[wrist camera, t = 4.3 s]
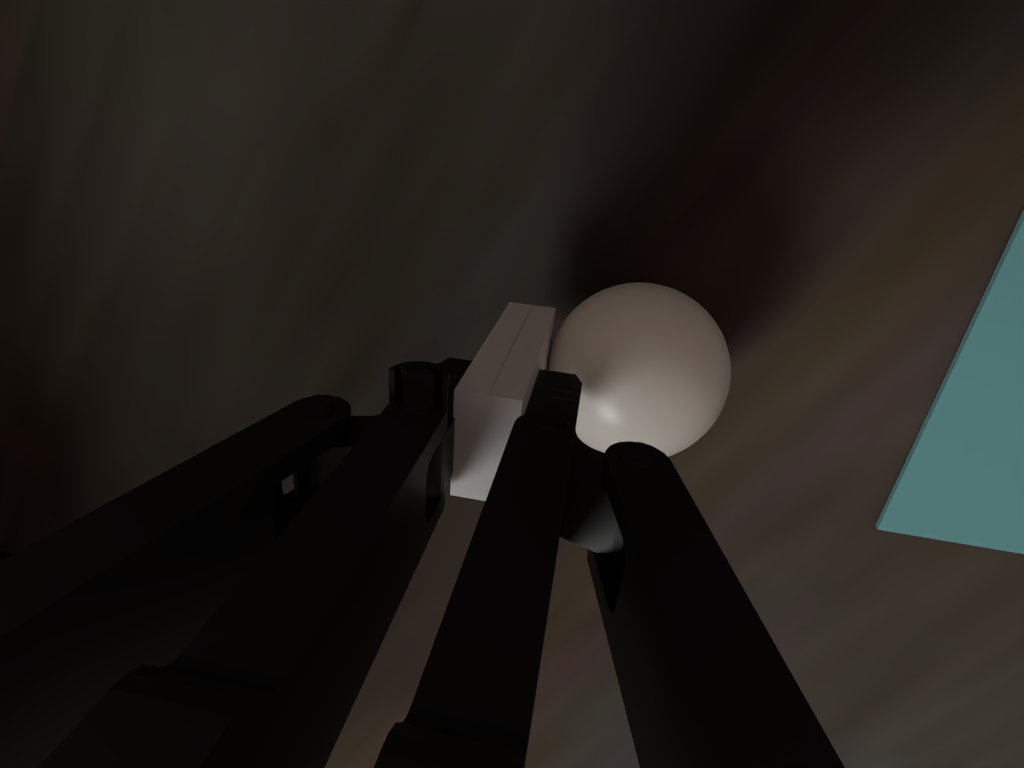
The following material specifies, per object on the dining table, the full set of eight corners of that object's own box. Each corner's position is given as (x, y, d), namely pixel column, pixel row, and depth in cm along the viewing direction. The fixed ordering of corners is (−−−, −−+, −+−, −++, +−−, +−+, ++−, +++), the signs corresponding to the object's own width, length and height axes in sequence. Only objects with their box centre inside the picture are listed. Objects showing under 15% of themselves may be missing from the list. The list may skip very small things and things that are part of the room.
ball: (536, 402, 21) (541, 490, 16) (554, 256, 18) (566, 306, 14) (681, 414, 21) (730, 505, 16) (716, 271, 19) (787, 325, 14)
